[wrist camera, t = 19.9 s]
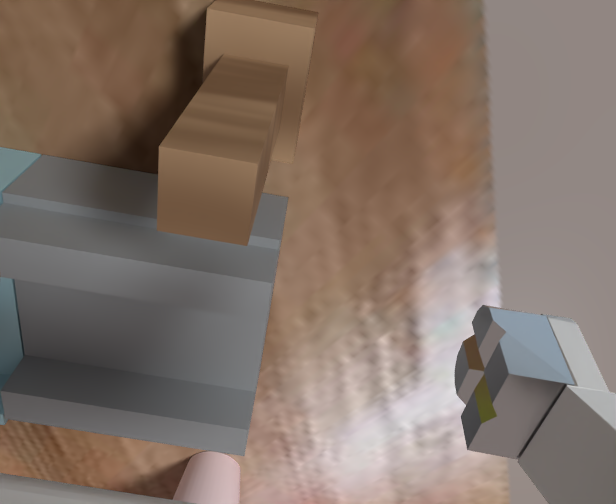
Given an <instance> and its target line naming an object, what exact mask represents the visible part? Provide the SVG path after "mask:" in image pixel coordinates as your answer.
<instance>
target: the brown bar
mask: <svg viewBox="0 0 616 504" xmlns="http://www.w3.org/2000/svg"><path fill="white" fill-rule="evenodd" d="M317 19H318V12H313V11H308V10H303V9H297V8H292V7H287V6H281V5H276V4H271V3H265V2H260V1H255V0H216V1H214V2H213V3H212V4H211V5H210V6H209V7H208V8H207V17H206V32H205V47H204V63H203V78H202V86H201V87H200V89H199V90H198V91H197V93H196V94H195V96H194V97H193V98H192V100H191V101H190V103H189V104H188V106H187V107H186V108H185V110H184V111H183V113H182V114H181V116H180V117H179V118H178V120H177V121H176V123H175V124H174V126H173V127H172V128H171V130H170V131H169V133H168V134H167V136H166V137H165V138H164V140H163V141H162V143H161V144H160V146H159V163H158V202H157V231H161V232H167V233H173V234H179V235H185V236H191V237H196V238H202V239H208V240H214V241H220V242H226V243H231V244H237V245H243V246H248V242H249V238H250V235H251V231H252V227H253V224H254V220H255V216H256V213H257V209H258V205H259V202H260V198H261V195H262V191H263V187H264V184H265V180H266V176H267V173H268V169H269V165H270V162H271V160H272V161H278V162H284V163H289V164H293V160H294V155H295V150H296V145H297V140H298V134H299V128H300V122H301V116H302V110H303V104H304V98H305V92H306V86H307V80H308V74H309V67H310V61H311V55H312V49H313V43H314V37H315V31H316V25H317Z"/></svg>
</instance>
